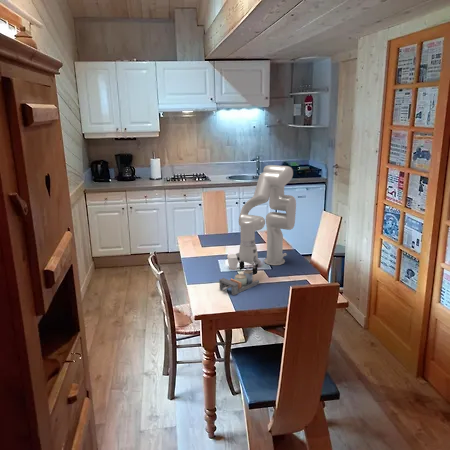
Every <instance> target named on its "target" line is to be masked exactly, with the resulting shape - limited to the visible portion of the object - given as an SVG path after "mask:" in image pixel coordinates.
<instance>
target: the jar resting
mask: <svg viewBox="0 0 450 450" xmlns="http://www.w3.org/2000/svg"><path fill="white" fill-rule="evenodd" d="M234 280H237V281H239V282H241V287H243V286H245V285H247V276H246V275H244V273H238V274H235V275H234Z"/></svg>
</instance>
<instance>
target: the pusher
mask: <svg viewBox="0 0 450 450" xmlns="http://www.w3.org/2000/svg"><path fill="white" fill-rule="evenodd" d="M229 280H230V281H233V282H235V283H238V288H241V282H239V281H237V280H235V278H234V279H233V278H232V277H231V278H230V279H229ZM231 288H232V287H231V286H228V287H225V288H223V289H222V290H221V291H225V290H228V289H231Z"/></svg>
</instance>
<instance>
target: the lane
mask: <svg viewBox="0 0 450 450" xmlns="http://www.w3.org/2000/svg"><path fill="white" fill-rule="evenodd" d="M259 284H260V279H257V280H255V281H254V280H253V282H252V283H250V284H247V285H245V286H243V287H241V288H238V283H235V282H233V281H230V279H227V278H225V277H222V278H220V279H219V290H220V291H223V290H222V289H223V288H225V287H228V286H231V287H230V288H231V295H232V296H236V295H238V294H239V293H242V292H244V291H246V290H248V289H251V288H253V287H255V286H257V285H259Z"/></svg>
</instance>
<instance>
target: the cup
mask: <svg viewBox="0 0 450 450" xmlns="http://www.w3.org/2000/svg"><path fill="white" fill-rule="evenodd" d="M236 254H237V253H229V254H227V256H226V258H227V261H228V262H227V263H228V264H227V265H228V267H229V269H230V270H231V271H234V270H238V269H240V266H238V264H239V262H238V259H237V256H236ZM237 268H238V269H237Z"/></svg>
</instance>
